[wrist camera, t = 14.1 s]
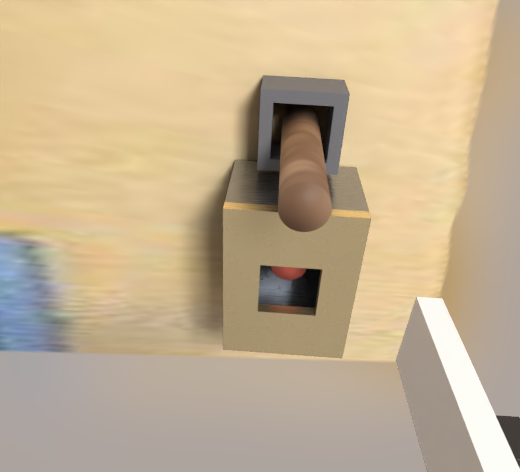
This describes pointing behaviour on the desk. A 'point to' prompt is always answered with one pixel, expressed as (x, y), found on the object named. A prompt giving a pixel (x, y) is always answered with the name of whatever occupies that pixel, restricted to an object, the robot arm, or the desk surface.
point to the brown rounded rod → (302, 171)
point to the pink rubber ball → (288, 272)
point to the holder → (305, 94)
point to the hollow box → (290, 255)
